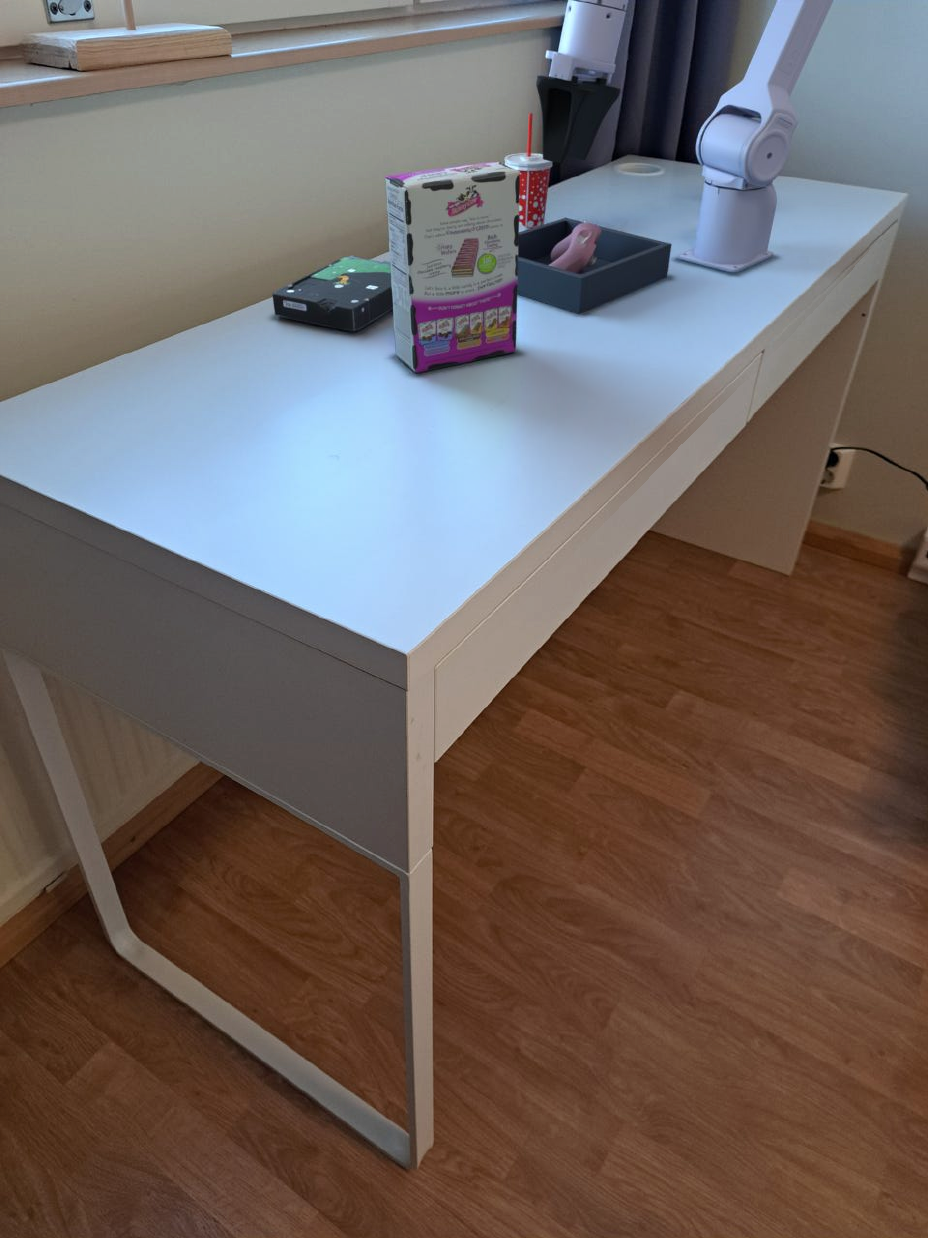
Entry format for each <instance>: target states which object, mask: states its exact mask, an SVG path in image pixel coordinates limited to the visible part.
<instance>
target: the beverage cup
mask: <svg viewBox="0 0 928 1238" xmlns="http://www.w3.org/2000/svg"><path fill="white" fill-rule="evenodd" d="M527 120H528V122H527V145H526V147H527V148H526V152H519V153H512V154H508V155H505V157H504V165H506V166H508V167H510V168H513V169H515V170H518V171H520V194H519V232H522V231H525V230H528V229H531V228H535V227H538V226H541V225H544V224H545V220H546V219H545V218H546V210H547V200H548V193H549V192H548V191H549V183H550V175H551V174H550V173H551V168H552V167H553V162H552V161H548V160H544V159H543V153H535V152H532V137H533V136H532V135H533V134H532V133H533V112H529V113H528V119H527Z"/></svg>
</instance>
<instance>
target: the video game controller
mask: <svg viewBox="0 0 928 1238" xmlns="http://www.w3.org/2000/svg"><path fill="white" fill-rule="evenodd" d="M583 222H584V223H581V224H579V225H578V226H576V227H575V228H574V230H573V232H572V234H570V235H569V236H568V237H566V238H565V239H563V240H562V241H561V242H559V243H558V244H557V245H556V246H555V247H554V248H553V250H552V252H551V260H552V261H553V263H551V264H550V265H549V266H552V267H556V268H559V269H563V270H566V271H570V272H573V273H577V274H580V273H581V272H582V271H583V270H584V268H585V267H586V266H588V265H589V264H591V265H590V267H592V266H593V265H594V264H595V262H596V257H595V258H594V259H593V254H594V250H595V248H596V243H597V241H598V237H599V235H600V233H601V231H602V230H601V229H600V228H599V227H598V226H599V225H598V224H596V223H594V222H589V221H587V220H586V219H585V220H584V221H583Z"/></svg>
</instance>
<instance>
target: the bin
mask: <svg viewBox="0 0 928 1238" xmlns="http://www.w3.org/2000/svg"><path fill="white" fill-rule="evenodd" d="M581 223H584V221H580V220H576V219H573V218H569V217H563V218H561V219H557V220H553V221H550V222H548V223H544V225H541V226H538V227H535V228H531V229H528V230H525V231H522V232H519V239H518V283H517V296H518V295H519V296H522V297H525V298H527V299H531V300H534V301H537V302H539V303H540V302H541V303H544V304H547V305H549V306H553V307H556V308H560V309H562V310H565V311H568V312H572V313H575V314H578V315H580V314H582V313H585V312H587V311H589V310H592V309H594V308H596V307H599V306H602V305H603V304H607V303H609V302H611V301H614V300H616V299H618V298H621V297H624V296H625V295H628V294H631V293H633V292H635V291H638V290H640V289H642V288H645V287H647V286H650V285H653V284H655V283H657V282H660V281H662V280H664V279H666V278H668V273H669V267H670V258H671V252H672V243H670V242H665V241H663V240H662V241H661V240H658V239H653V238H650V237H645V236H641V235H637V234H633V233H629V232H625V231H621V230H618V229H613V228H609V227H606V226H601V225H598V227H599V228H600V229H601V230H602V231H601V233H600V235H599V237H598V241H597V243H596V248H595V250H594V254H593V259H594V258H595V257H596V262H595V264H594V265H593V266H592V267H590V265H591V264H589V265H588V266H586V267H585V268H584V270H583V271H582V272H581V273H580V274H577V273H573V272H570V271H566V270H563V269H559V268H556V267H552V266H549V265H550V264H551V263H553V261H552V260H551V252H552V250H553V248H554V247H555V246H556V245H557V244H558V243H559V242H561V241H562V240H563V239H565V238H566V237H568V236H569V235H570V234H572V232H573V230H574V228H575V227H576V226H578V225H579V224H581Z"/></svg>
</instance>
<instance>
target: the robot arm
mask: <svg viewBox="0 0 928 1238" xmlns="http://www.w3.org/2000/svg"><path fill="white" fill-rule="evenodd" d="M833 2H834V0H776V3H775V5H774V8H773V10H772V12H771V15H770V17H769V19H768V21H767V23H766V26H765V28H764V31H763V33H762V35H761V38H760V40H759V42H758V44H757V47H756V49H755V52H754V54H753V56H752V59H751V61H750V63H749V64H748V65H749V66H748V68H747V70H746V72H745V75H744V77H743V79H742V80H741V81H740V82H739V83H737V84H736V85H735V86H732V87H731V88H730V89H729V90H728V91H726V92H725V93H724V94H722V95H721V96H720V98H719V101H718V103H717V105H716V107H715V109H714V111H713V112H712V113H711V115H710V116H709V117H708V118H707V119H706V120H705V121H704V123H703V124H702V126H701V127H700V129H699V132H698V135H697V137H696V142H695V155H696V158H697V161H698V163H699V164H700V166H701V167H702V170H701V171H702V172H701V177H703V178H704V182H703V188H702V194H701V202H700V208H699V209H700V210H699V213H698V220H697V221H698V222H697V228H696V233H695V234H696V235H695V241H694V248H693V249H690V250H688V251H685V252H683V253H680V254H679V255H678V259H679V260H681V261H685V262H689V263H693V264H696V265H701V266H704V267H709V268H712V269H716V270H720V271H724V272H727V273H732V274H734V273H735V274H736V273H738V272H740V271H742V270H745V269H748V268H749V267H752V266H754V265H756V264H758V263H761V262H763V261H765V260H768V259H770V258H772V257H774V254H775V253H774V251H771V250H769V246H770V245H769V244H770V239H771V234H772V229H773V225H774V220H775V215H776V209H777V205H778V204H777V203H778V195H777V191H776V189H775V186H774V184H773V182H774V181H775V180H776V178H778V177H779V175H780V174H781V173H782V171H783V170H784V168H785V167H786V165H787V162H788V159H789V156H790V152H791V151H790V150H791V144H792V139H793V135H794V132H795V130H796V128H797V126H798V124H799V120H798V116H797V114H796V112H795V109H794V107H793V105H792V102H791V100H790V98H791V95H792V93H793V90H794V88H795V86H796V84H797V81H798V79H799V77H800V76H801V73H802V70H803V68H804V67H805V64H806V62H807V60H808V58H809V55H810V54H811V51H812V49H813V47H814V44H815V42H816V40H817V38H818V35H819V32H820V31H821V29H822V26H823V25H824V22H825V20H826V18H827V15H828V13H829V11H830V9H831V7H832V5H833ZM628 4H629V0H567V5H566V8H565V15H564V20H563V23H562V30H561V34H560V39H559V45H558V50H557V51H554V50H549V49H547V50H546V52H545V59H548V60H551V64H550V69H549V70H550V71H549V74H548V76H547V75H539V74H538V75H537V76H536V82H535V86H536V89H537V90H536V91H537V94H538V99H539V102H540V109H541V122H542V126H541V127H542V137H541V139H542V141H541V142H542V144H541V149H542V151H541V154H543V159H544V160H548V161H552V163H555V164H559V165H562V164H563V165H564V163H565V161H566V159H567V157H568V158H572V159H578V160H581V161H586V159H587V157H588V155H589V153H590V150H591V149H592V146H593V144H594V141H595V140H596V137H597V134H598V132H599V130H600V127H601V125H602V124H603V121H604V119H605V118H606V116H607V114H608V112H609V111H610V110H611V108H612V106H613V105H614V104H615V102H616V101H617V100H618V99H619V97H620V95H621V88H620V87H616V86H611V85H610V84H611V82H612V77H613V75H614V73H615V70H616V67H617V65H616V63H615V62H616V58H617V53H618V49H619V43H620V39H621V36H622V30H623V26H624V21H625V18H626V13H627V12H626V11H627V8H628ZM580 81H581V82H580ZM607 84H609V85H607ZM758 119H760V120H758Z"/></svg>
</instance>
